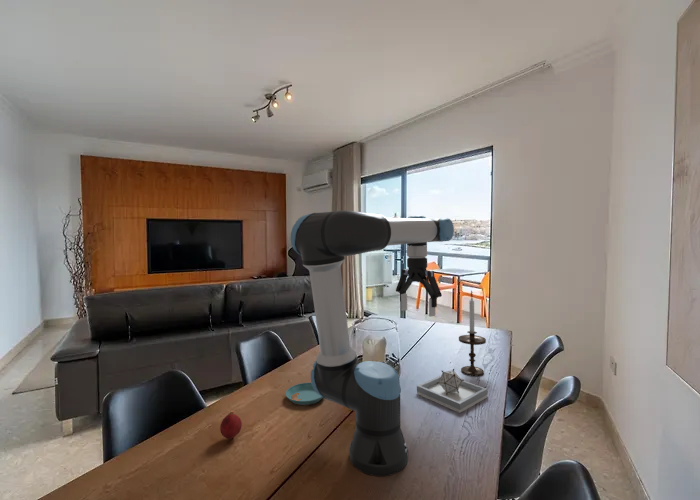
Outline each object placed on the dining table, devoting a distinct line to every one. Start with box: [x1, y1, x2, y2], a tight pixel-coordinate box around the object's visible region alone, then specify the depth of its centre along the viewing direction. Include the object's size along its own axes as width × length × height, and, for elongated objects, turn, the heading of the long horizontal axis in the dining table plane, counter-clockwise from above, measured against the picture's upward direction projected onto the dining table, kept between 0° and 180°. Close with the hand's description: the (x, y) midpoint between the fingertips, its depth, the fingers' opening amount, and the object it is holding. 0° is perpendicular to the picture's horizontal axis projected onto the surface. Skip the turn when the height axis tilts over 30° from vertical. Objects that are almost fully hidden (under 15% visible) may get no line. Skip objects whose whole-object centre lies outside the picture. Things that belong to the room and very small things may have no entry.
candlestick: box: [458, 289, 487, 377], centre depth 142 cm, size 11×11×35 cm
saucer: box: [285, 382, 324, 406], centre depth 122 cm, size 15×15×3 cm
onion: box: [219, 410, 243, 440], centre depth 97 cm, size 6×6×8 cm
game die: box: [437, 368, 465, 395], centre depth 122 cm, size 9×8×10 cm
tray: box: [416, 374, 488, 414], centre depth 122 cm, size 17×18×3 cm
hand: (417, 313), depth 128 cm, fingers open, 13 cm apart
